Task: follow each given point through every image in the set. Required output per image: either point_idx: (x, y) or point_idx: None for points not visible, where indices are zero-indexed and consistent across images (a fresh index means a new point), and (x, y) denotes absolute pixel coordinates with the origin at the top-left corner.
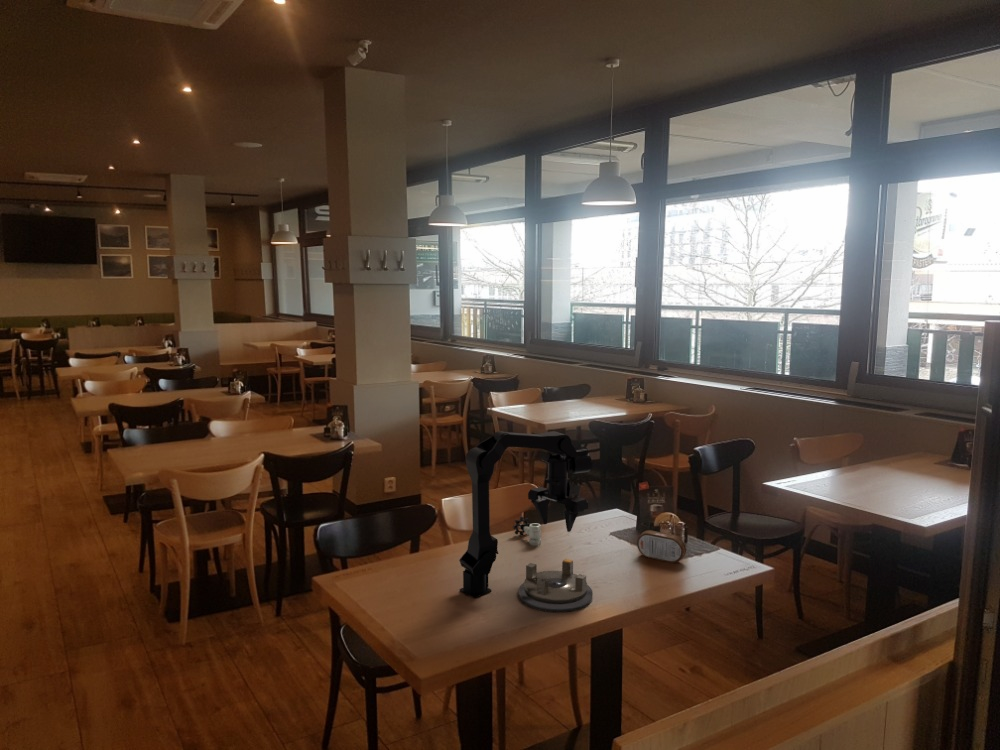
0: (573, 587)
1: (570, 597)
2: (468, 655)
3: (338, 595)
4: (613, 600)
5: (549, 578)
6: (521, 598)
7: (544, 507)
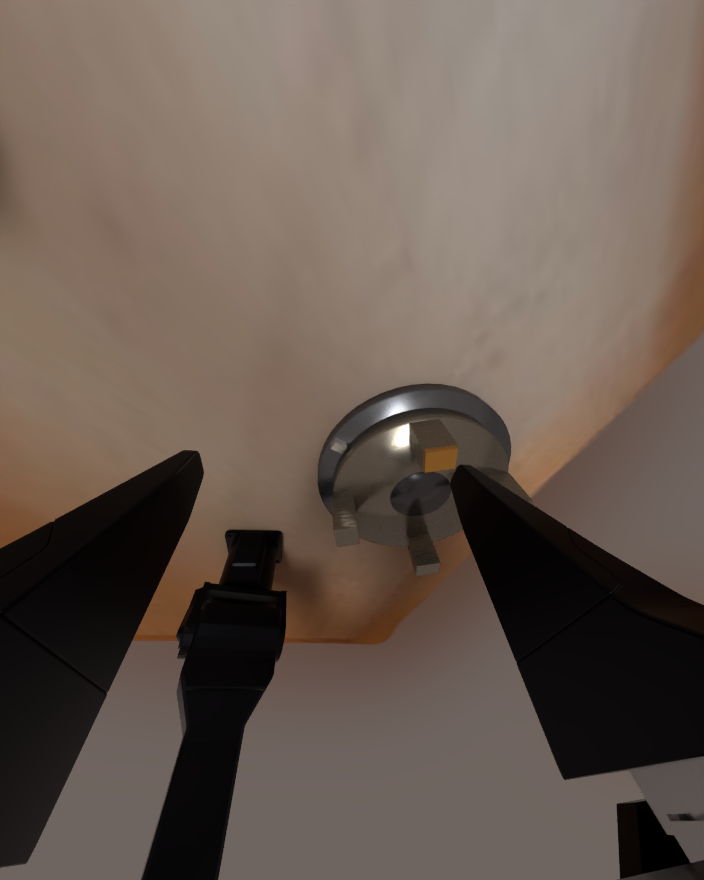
0: None
1: None
2: (394, 618)
3: None
4: (559, 406)
5: (391, 485)
6: None
7: (59, 656)
